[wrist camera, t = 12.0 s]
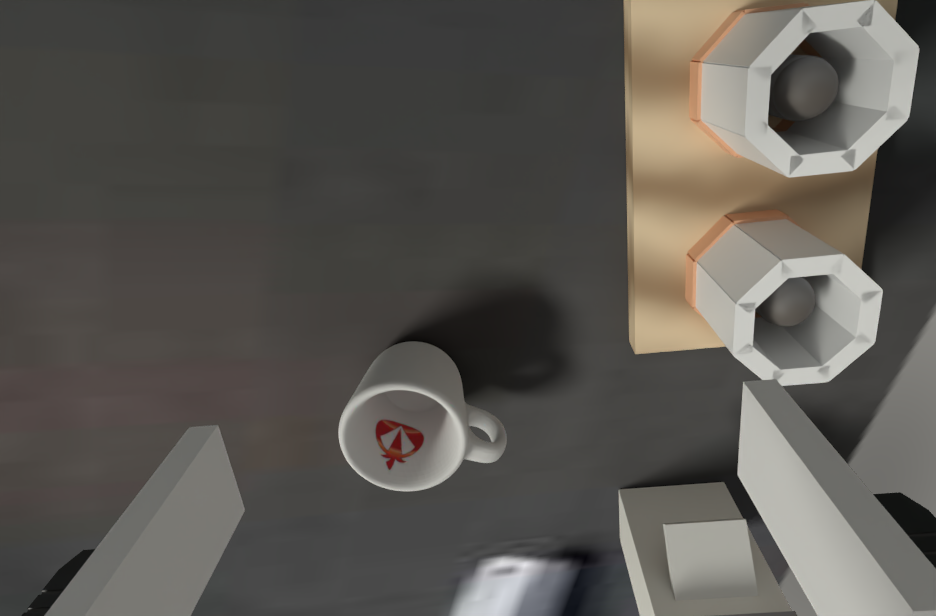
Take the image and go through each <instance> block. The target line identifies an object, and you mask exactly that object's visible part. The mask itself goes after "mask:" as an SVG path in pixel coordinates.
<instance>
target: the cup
mask: <svg viewBox="0 0 936 616" xmlns="http://www.w3.org/2000/svg"><path fill="white" fill-rule="evenodd" d="M469 426H475V427H478V428H480V429H482V430H484V431H485V432H486V433H487V434H488V435H489V437H490V438H491V441H492V443H490V442H486V441H483V440H481V439H479V438H478V437H476V436H475V435H474V434H473V432H472V431H471V429H470V427H469ZM339 442H340V446H341V449H342V452H343V454H344V456H345V458H346V460H347V461H348V463H349V464H350V465H351V467H352V468H353V469H354V470H355V471H356V472H357V473H358V474H359V475H361V476H362V477H363V478H365V479H366V480H368V481H369V482H371V483H373V484H375V485H378V486H380V487H383V488H386V489H391V490H396V491H418V490H423V489H427V488H430V487H433V486H435V485H437V484H439V483H441V482H443V481H444V480H446V479H447V478H449V477H450V476H451V475H452V474H453V473H454V472H455V471H456V470H457V469H458V467H459V466H460V464H461V463H462V461H463V459H468V460H472V461H476V462H482V463H491V462H494V461H496V460H498V459H499V458H500V457H501V455H502V454H503V452H504V449H505V447H506V443H507V436H506V432H505V429H504V427H503V425H502V423H501V422H500V421H499V420H498V419H497V418H496V417H495V416H494V415H492V414H491V413H489V412H487V411H484V410H482V409H479V408H476V407H473V406H470V405H468V404H467V403H465V401H464V394H463V386H462V381H461V377H460V373H459V371H458V369H457V367H456V365H455V363H454V362H453V360H452V359H451V358H450V357H449V356H448V355H447V354H446V353H445V352H444V351H442V350H441V349H439V348H437V347H435V346H433V345H431V344H428V343H424V342H417V341H410V342H403V343H399V344H396V345H393V346H391V347H389V348H388V349H386V350H385V351H383V352H382V353H381V354H380V355H379V356H378V357H377V358H376V359H375V360H374V362H373V363H372V365H371V366H370V368H369V369H368V371H367V373H366V374H365V376H364V378H363V379H362V381H361V382H360V384H359V386H358V387H357V389H356V391H355V392H354V394H353V396H352V397H351V399H350V401H349V402H348V404H347V406H346V407H345V409H344V411H343V414H342V416H341V419H340V424H339Z"/></svg>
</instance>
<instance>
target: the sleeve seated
mask: <svg viewBox="0 0 936 616" xmlns="http://www.w3.org/2000/svg"><path fill="white" fill-rule="evenodd" d="M797 46H799V47H800V48H801V49H802V50H803V51H804V52H805V53H806V54H807V55H809V56H817V57H820V58H823V59H824V60H826V61H827V62H828V63H829V64H830V65H832V67H833V68H834V69H835V71H836V73H837V76H838V81H839V86H838V92H837V95H836V97H835V99H834V101H833V103H832V104H831V105H830V107H829V108H828V109H827V110H826V111H824V112H823V113H822V114H820V115H818V116H817V117H814V118H812V119H809V120H806V121H799V122H796V121H790V120H786V119H783V120H782V121H781V122H780V123H779V124H778V125H777V126H776V127H774V128H770V127H769V126H768V112H769V97H770V83H771V74H772V73H773V72H774V71H775V70H776V69H777V68H778V67H779V66H780V65H781V64H782V63H783V61H784V60H785V59H786V58H787V57H788V56H789V55H790V54H791V53H792V52H793V51H794V50H795V49H796V48H797ZM918 47H919V46H918V45H917V44H916V43H915V42H914V41H913V40H912V38H911V37H910V36H909V35H908V34H907V33H906V32H905V31H904V30H903V29H902V28H901V27H900V26H899V24H898V23H897V22H896V21H895V20H894V19H893V18H892V17H891V16H890V15H889V14H888V13H887V11H886V10H885V9H884V8H883V7H882V6H881V5H880V4H879V3H878V2H877V1H876V0H866V1H856V2H846V3H836V4H826V5H816V6H809V4H808V3H805V2H804V3H795V4H786V5H778V6H770V7H762V8H754V9H746V10H738V11H735V12H732V13H731V14H730V15H729V17H728V18H727V19H726V20H725V21H724V22H723V23H722V25H721V26H720V27H719V28H718V29H717V30H716V31H715V33H714V34H713V35H712V36H711V37H710V38H709V39H708V41H707V42H706V43H705V44H704V45H703V46H702V47H701V49H700V50H699V51H698V52H697V53H696V54H695V55H694V57H693V58H692V60H693V61H691V62H690V92H689V118H691V119H690V120H691V121H692V122H693V123H694V124H695V125H696V126H698V127H699V128H700V129H701V130H702V131H703V132H704V133H705V134H706V135H707V136H708V137H709V138H711V139H712V140H713V141H714V142H715V143H716V144H717V145H718V146H719V147H720V148H721V149H723V150H724V151H725V152H726V153H728V154H730V155H732V156H734V157H737V158H741V157H745V158H747V159H750V160H752V161H754V162H756V163H758V164H760V165H763V166H765V167H767V168H769V169H771V170H773V171H775V172H778V173H780V174H782V175H784V176H786V177H789V178H791V177H800V176H810V175H820V174H829V173H839V172H848V171H854V170H856V169H857V168H858V167H859V166H860V165H861V164H862V163H863V162H864V161H865V160H866V159H867V158H868V157H869V156H870V155H871V154H872V153H874V152H875V151H876V150H877V149H878V148H879V147H880V146H881V145H882V144H883V143H884V142H885V141H886V140H887V139H888V138H889V137H890V136H891V135H892V134H893V133H895V132H896V131H897V130H898V129H899V128H900V127H901V126H902V125H903V124H904V123H905V122H906V121H907V120H908V119H907V118H909V115H910V109H911V102H912V95H913V89H914V82H915V76H916V69H917V62H918V56H919V49H920V48H918Z"/></svg>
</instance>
